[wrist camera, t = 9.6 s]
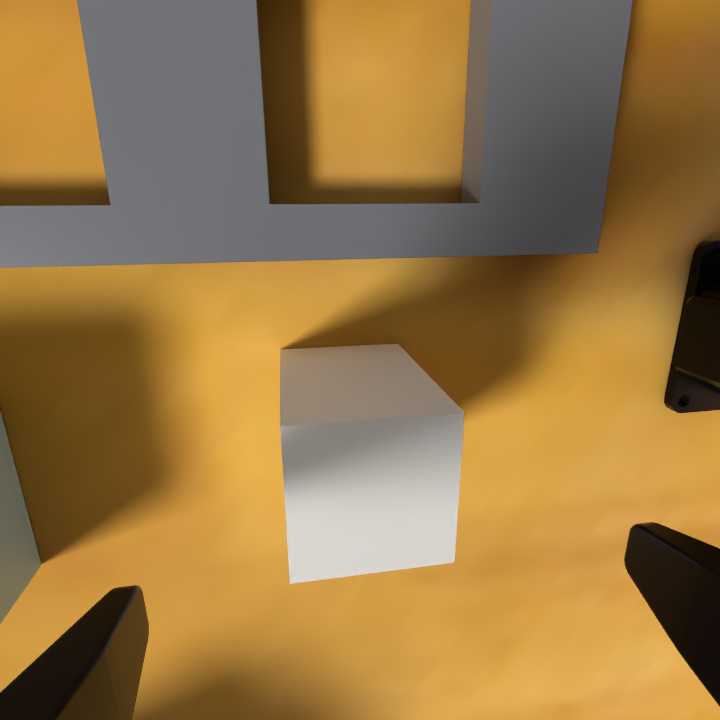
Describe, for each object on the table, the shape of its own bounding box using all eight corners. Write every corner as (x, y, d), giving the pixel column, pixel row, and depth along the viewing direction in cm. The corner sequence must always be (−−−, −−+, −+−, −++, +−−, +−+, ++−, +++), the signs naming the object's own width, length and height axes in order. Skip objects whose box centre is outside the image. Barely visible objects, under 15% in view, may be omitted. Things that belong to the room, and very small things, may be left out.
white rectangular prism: (397, 343, 16) (464, 412, 10) (395, 447, 17) (454, 562, 11) (280, 349, 15) (280, 426, 9) (286, 457, 16) (289, 584, 11)
